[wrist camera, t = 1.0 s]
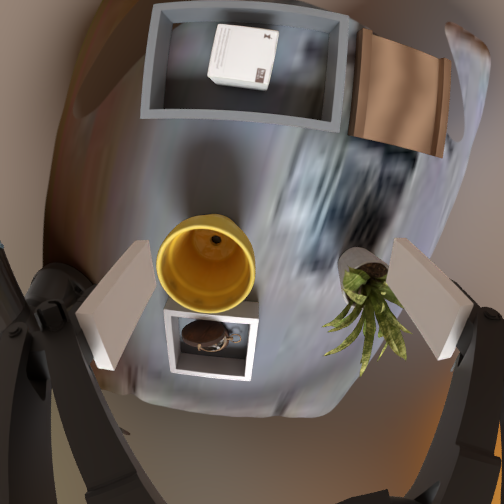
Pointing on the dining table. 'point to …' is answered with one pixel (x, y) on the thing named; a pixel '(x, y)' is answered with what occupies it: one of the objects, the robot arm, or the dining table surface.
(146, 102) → the grey storage bin
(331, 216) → the dining table surface
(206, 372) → the dish
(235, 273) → the plant pot
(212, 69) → the skincare box
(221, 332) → the compass
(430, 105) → the tray
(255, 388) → the dining table surface
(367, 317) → the house plant
